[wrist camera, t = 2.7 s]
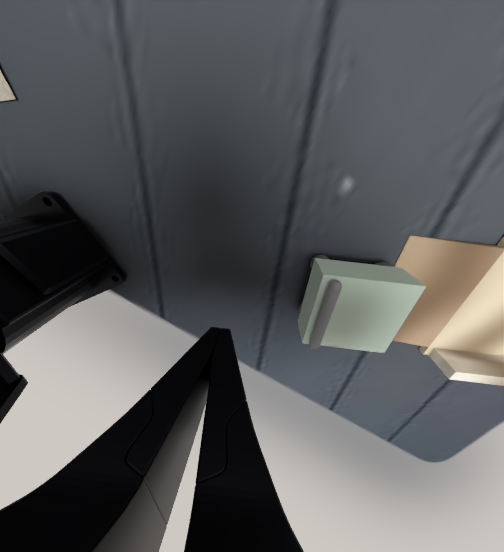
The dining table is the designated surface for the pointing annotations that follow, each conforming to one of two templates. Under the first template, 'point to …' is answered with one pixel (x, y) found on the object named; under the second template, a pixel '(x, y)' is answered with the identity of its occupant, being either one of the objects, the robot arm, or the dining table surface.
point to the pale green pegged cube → (355, 304)
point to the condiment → (5, 89)
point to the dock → (457, 306)
